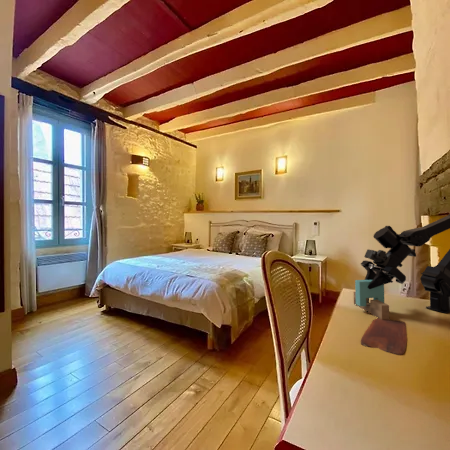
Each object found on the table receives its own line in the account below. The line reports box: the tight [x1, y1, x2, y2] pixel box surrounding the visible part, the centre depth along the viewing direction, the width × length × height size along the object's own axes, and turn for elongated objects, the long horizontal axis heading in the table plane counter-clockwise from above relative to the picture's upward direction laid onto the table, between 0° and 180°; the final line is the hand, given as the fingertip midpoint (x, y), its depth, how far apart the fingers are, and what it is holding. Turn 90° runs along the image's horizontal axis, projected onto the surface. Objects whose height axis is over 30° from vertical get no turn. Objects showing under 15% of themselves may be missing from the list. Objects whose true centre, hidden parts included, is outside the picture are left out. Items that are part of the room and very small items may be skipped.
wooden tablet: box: [360, 317, 408, 356], centre depth 75 cm, size 27×10×2 cm, turn 141°
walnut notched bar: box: [353, 291, 390, 320], centre depth 93 cm, size 18×2×5 cm, turn 1°
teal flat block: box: [354, 279, 385, 306], centre depth 93 cm, size 9×3×9 cm, turn 91°
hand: (365, 287), depth 93 cm, fingers closed on teal flat block, 3 cm apart
